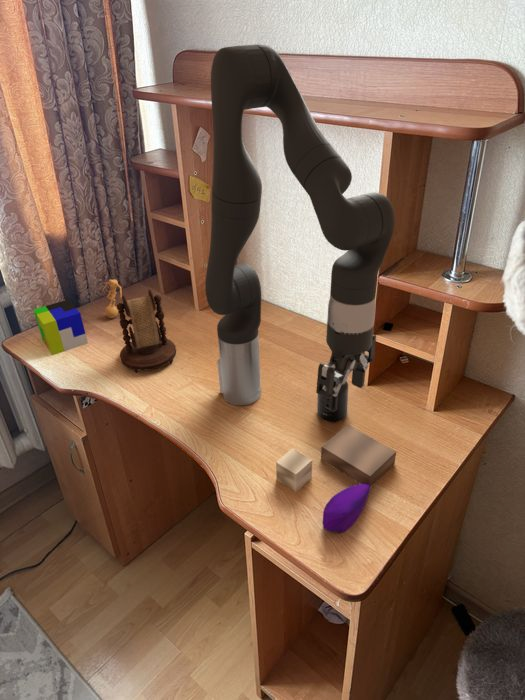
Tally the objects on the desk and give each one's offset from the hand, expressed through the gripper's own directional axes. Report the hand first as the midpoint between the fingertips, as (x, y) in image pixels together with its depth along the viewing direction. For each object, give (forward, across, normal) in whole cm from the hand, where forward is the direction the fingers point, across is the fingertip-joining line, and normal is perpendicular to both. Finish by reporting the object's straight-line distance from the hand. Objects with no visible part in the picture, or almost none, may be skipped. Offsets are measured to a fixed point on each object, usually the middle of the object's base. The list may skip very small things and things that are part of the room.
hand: (344, 397), depth 96 cm
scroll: (+22, -4, -63) cm, 67 cm away
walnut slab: (+21, -6, +1) cm, 22 cm away
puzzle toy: (+22, +6, -90) cm, 93 cm away
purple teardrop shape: (+21, +6, +6) cm, 23 cm away
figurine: (+22, -12, -90) cm, 94 cm away
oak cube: (+21, +6, -7) cm, 23 cm away
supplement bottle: (+21, -15, -12) cm, 29 cm away
